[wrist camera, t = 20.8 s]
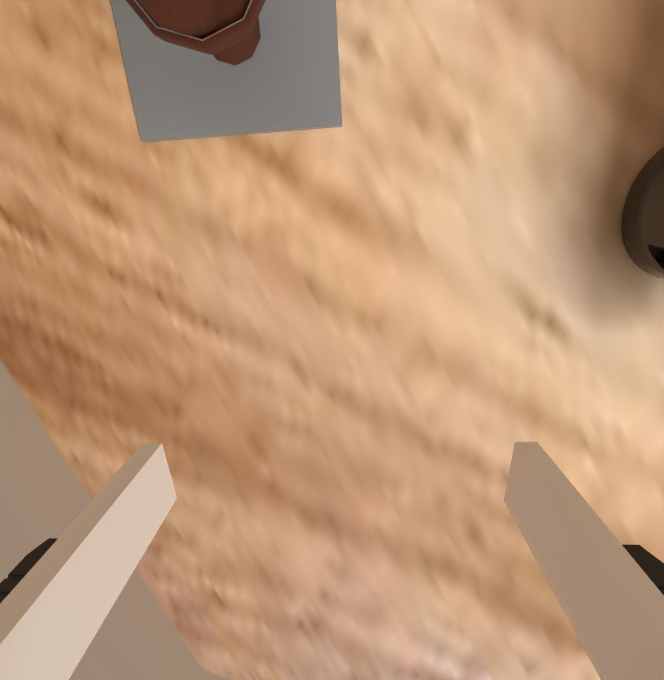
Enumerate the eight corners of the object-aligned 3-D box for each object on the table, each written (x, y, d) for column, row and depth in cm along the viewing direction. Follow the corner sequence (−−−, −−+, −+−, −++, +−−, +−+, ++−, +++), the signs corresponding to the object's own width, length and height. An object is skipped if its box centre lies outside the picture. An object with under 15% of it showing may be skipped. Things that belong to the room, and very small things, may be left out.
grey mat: (329, -107, 28) (329, -114, 27) (341, 126, 33) (341, 124, 32) (95, -84, 28) (90, -91, 28) (144, 142, 33) (140, 140, 33)
